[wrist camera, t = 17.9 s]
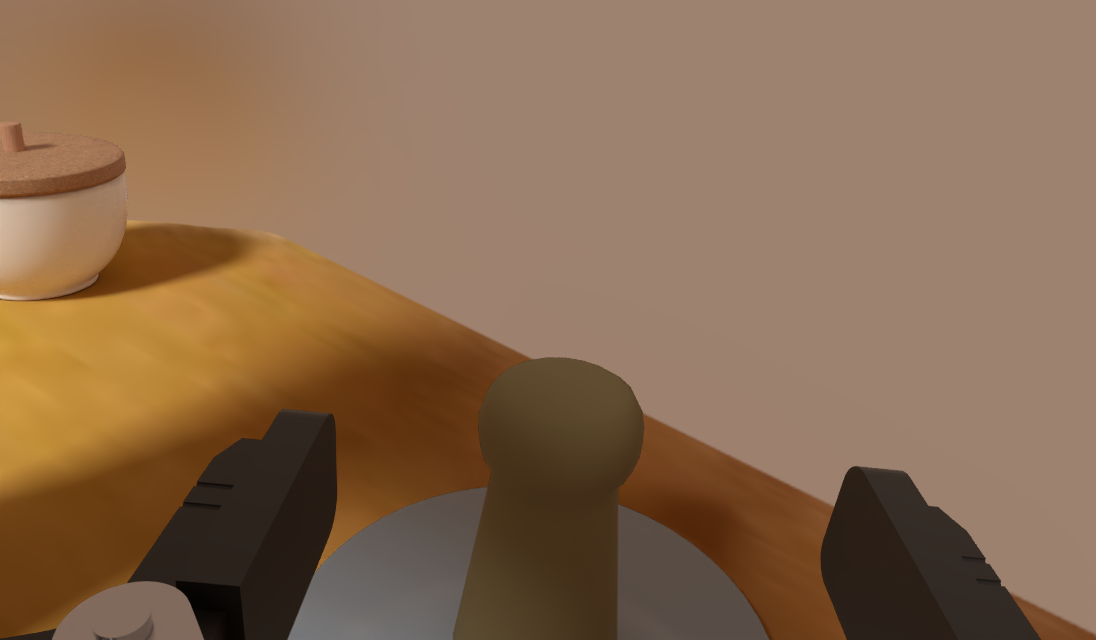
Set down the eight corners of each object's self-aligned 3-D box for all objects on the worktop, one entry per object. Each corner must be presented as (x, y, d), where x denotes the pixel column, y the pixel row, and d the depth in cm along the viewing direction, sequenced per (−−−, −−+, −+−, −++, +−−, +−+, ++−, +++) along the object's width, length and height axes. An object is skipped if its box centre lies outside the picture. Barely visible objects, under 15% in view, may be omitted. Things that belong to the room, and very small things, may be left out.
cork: (461, 574, 31) (476, 327, 26) (611, 586, 31) (653, 343, 26) (442, 707, 25) (456, 424, 21) (624, 720, 25) (679, 442, 21)
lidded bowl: (177, 264, 59) (160, 119, 55) (53, 331, 48) (19, 156, 43) (30, 240, 61) (2, 97, 56) (-123, 300, 49) (-175, 127, 45)
